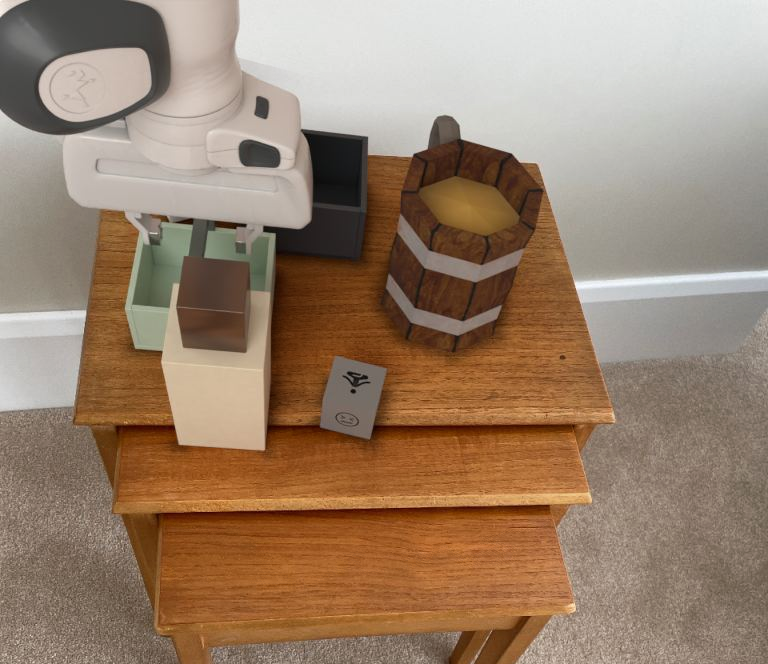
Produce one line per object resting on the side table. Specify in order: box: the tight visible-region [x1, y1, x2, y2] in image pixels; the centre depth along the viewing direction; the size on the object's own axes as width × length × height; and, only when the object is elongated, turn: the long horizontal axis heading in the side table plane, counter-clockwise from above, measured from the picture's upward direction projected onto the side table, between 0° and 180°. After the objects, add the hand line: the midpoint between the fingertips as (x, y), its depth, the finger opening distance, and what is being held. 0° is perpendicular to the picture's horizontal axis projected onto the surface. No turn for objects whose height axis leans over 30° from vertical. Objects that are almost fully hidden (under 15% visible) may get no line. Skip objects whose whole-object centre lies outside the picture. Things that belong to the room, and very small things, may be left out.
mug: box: [380, 114, 544, 353], centre depth 79 cm, size 20×14×15 cm
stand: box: [160, 283, 272, 452], centre depth 69 cm, size 8×8×13 cm
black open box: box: [237, 128, 369, 262], centre depth 84 cm, size 13×11×7 cm
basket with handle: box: [124, 218, 277, 352], centre depth 75 cm, size 13×11×11 cm
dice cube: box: [319, 355, 388, 440], centre depth 75 cm, size 5×5×5 cm
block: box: [176, 256, 251, 353], centre depth 61 cm, size 5×5×5 cm
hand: (199, 244), depth 72 cm, fingers open, 7 cm apart
